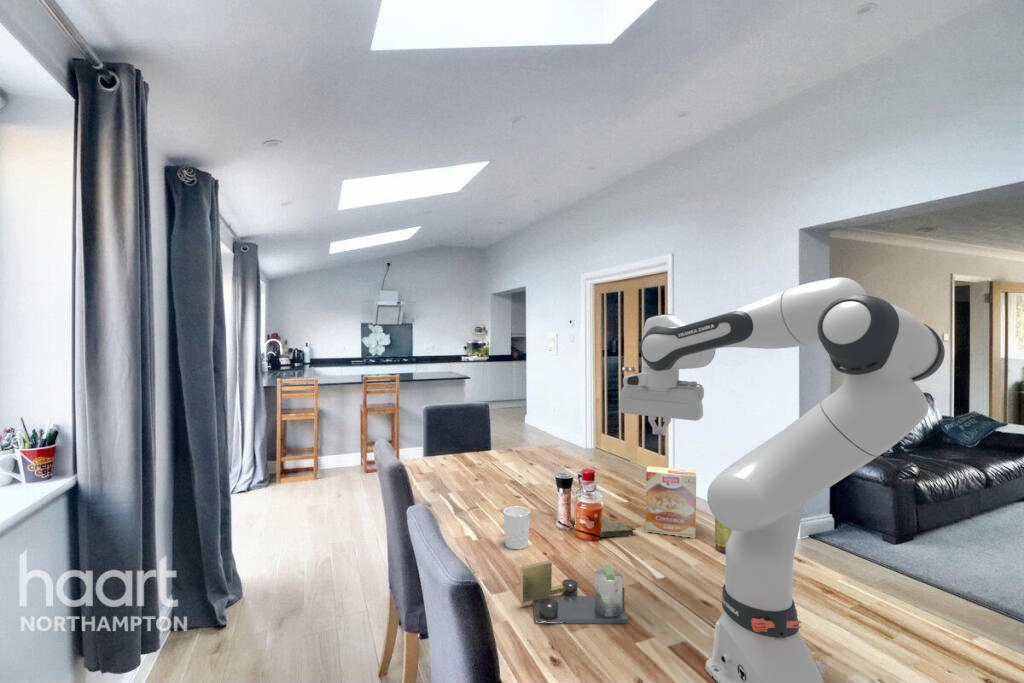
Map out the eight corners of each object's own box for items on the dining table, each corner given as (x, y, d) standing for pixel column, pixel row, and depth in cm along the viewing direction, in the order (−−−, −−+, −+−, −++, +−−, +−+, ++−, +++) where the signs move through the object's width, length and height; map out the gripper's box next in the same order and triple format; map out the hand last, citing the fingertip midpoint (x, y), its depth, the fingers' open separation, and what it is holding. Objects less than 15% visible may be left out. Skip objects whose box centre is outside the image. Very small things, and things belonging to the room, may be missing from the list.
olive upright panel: (571, 587, 116) (572, 552, 116) (580, 595, 113) (580, 558, 112) (517, 602, 109) (518, 564, 109) (525, 610, 106) (525, 571, 106)
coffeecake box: (645, 532, 150) (645, 471, 150) (645, 524, 157) (646, 465, 156) (695, 539, 145) (696, 475, 145) (694, 530, 152) (695, 469, 152)
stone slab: (547, 523, 155) (549, 507, 156) (564, 518, 165) (566, 504, 166) (626, 548, 140) (628, 530, 141) (639, 541, 150) (641, 525, 151)
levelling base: (633, 624, 102) (634, 579, 101) (535, 624, 101) (535, 579, 101) (621, 599, 112) (622, 557, 111) (532, 598, 111) (533, 557, 111)
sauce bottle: (741, 556, 134) (742, 485, 134) (717, 553, 136) (718, 484, 135) (735, 546, 141) (736, 479, 141) (712, 544, 142) (713, 477, 142)
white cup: (498, 547, 138) (498, 512, 138) (510, 537, 145) (511, 504, 145) (522, 553, 135) (522, 518, 135) (534, 542, 142) (534, 509, 142)
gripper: (706, 381, 116) (705, 437, 116) (626, 376, 127) (625, 427, 128) (700, 383, 111) (699, 442, 111) (617, 377, 122) (616, 431, 122)
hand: (659, 434), depth 119 cm, fingers closed
